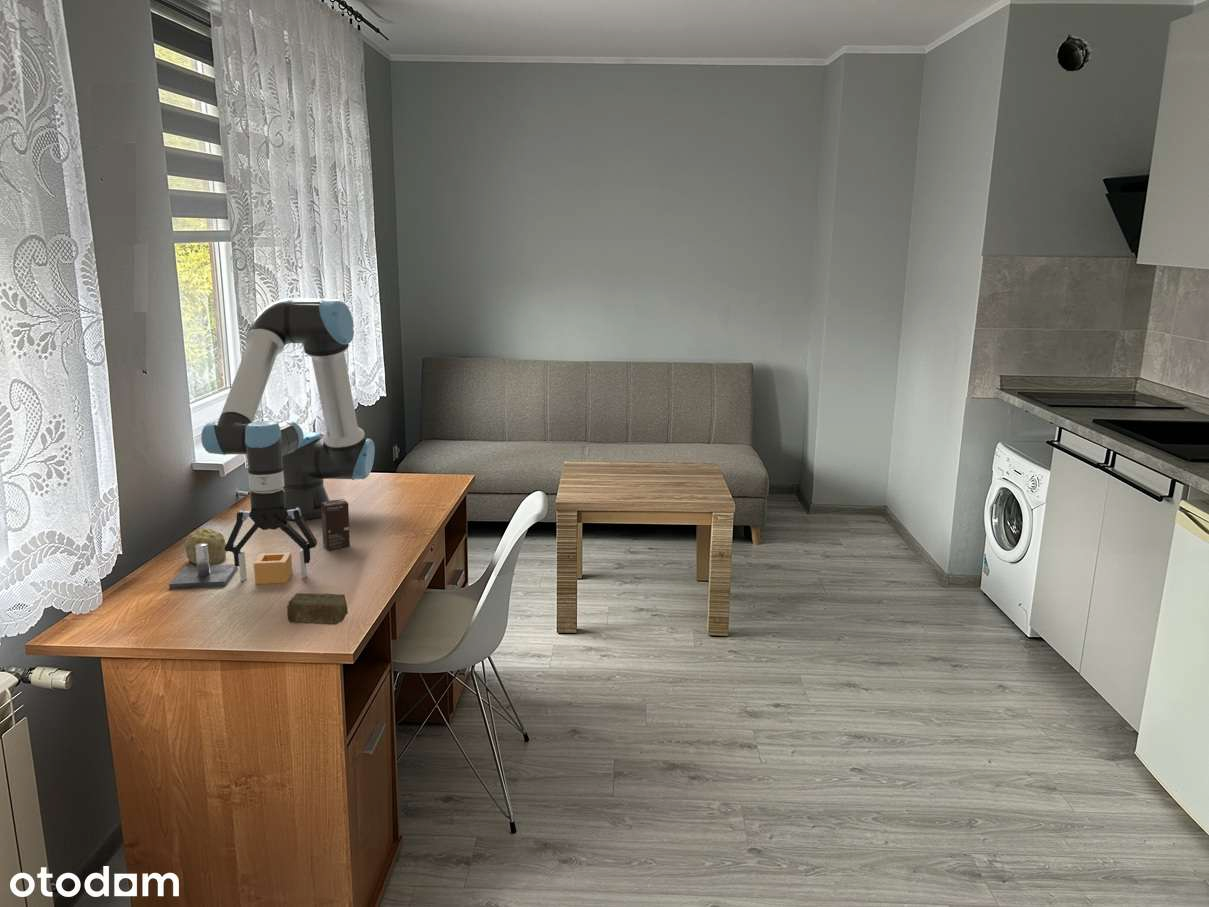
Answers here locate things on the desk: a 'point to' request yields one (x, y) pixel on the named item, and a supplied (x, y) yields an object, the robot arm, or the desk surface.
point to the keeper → (203, 572)
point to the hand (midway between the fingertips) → (274, 577)
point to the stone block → (317, 608)
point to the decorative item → (214, 545)
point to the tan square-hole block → (273, 568)
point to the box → (335, 524)
